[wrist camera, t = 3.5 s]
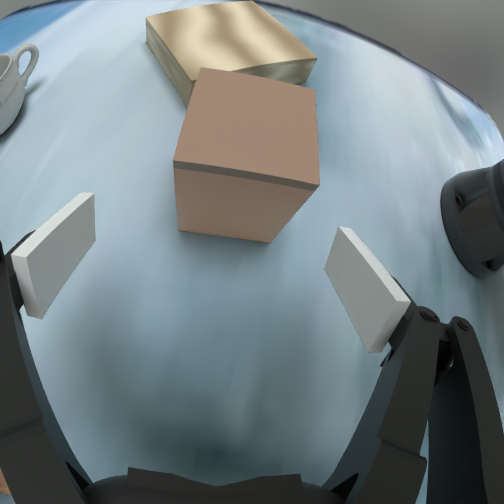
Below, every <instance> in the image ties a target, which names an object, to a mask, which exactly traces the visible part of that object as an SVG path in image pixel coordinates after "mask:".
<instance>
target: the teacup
mask: <svg viewBox="0 0 504 504" xmlns="http://www.w3.org/2000/svg"><path fill="white" fill-rule="evenodd" d="M26 51H30V52H31V60H30V63H29V65H28V66H27V68H26V70H25V71H24V73H23V74H22V75H21V76H20V74H19V71H18V68H19V58H20V56H21V55H22V54H23V53H24V52H26ZM38 57H39V51H38V49H37V47H36V46H35V45H33V44H24V45H22V46H20V47H19V48H18V49H17V50H16V51H15V53H14V55H13V56H12V55H11V54H9V53H3V54H0V135H1V134H3V133H4V132H5V131H6V130H7V129H8V128H9V127H10V126H11V124H12V123H13V122H14V120H15V119H16V117H17V115H18V113H19V111H20V108H21V106H22V103H23V100H24V96H25V88H24V87H25V86H26V84H27V81H28V78H29V76H30V75H31V73H32V71H33V69H34V68H35V66H36V63H37V61H38Z"/></svg>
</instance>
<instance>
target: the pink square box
mask: <svg viewBox="0 0 504 504" xmlns="http://www.w3.org/2000/svg"><path fill="white" fill-rule="evenodd" d="M173 166H174V181H175V193H176V205H177V215H178V225H179V230H181V231H188V232H196V233H203V234H210V235H217V236H225V237H232V238H239V239H246V240H253V241H260V242H267V243H270V242H271V241H272V240H273V239H274V238H275V236H276V235H277V234H278V233H279V232H280V231H281V229H282V228H283V227H284V226H285V225H286V224H287V223H288V221H289V220H290V219H291V218H292V217H293V216H294V214H295V213H296V212H297V211H298V210H299V209H300V208H301V206H302V205H303V204H304V203H305V202H306V201H307V199H308V198H309V197H310V196H311V195H312V194H313V192H314V191H315V190H316V189H317V188H318V187H319V185H320V177H319V149H318V130H317V114H316V100H315V90H313V89H309V88H306V87H302V86H298V85H294V84H290V83H286V82H282V81H278V80H273V79H269V78H264V77H259V76H254V75H249V74H243V73H237V72H231V71H225V70H218V69H210V68H202V67H201V68H200V71H199V74H198V77H197V80H196V83H195V86H194V89H193V92H192V96H191V99H190V102H189V105H188V108H187V112H186V115H185V119H184V122H183V125H182V129H181V133H180V136H179V140H178V143H177V147H176V151H175V155H174V159H173Z"/></svg>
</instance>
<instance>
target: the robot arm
mask: <svg viewBox="0 0 504 504" xmlns="http://www.w3.org/2000/svg"><path fill="white" fill-rule="evenodd" d="M441 206H442V215H443V220H444V224H445V228H446V231H447V234H448V237H449V240H450V242H451V244H452V247H453V249H454V251H455V253H456V254H457V256H458V258H459V259H460V261H461V262H462V263H463V265H464V266H465V267H466V268H467V269H468V270H469V271H470V272H471V273H472V274H474V275H476V276H478V277H486V276H490V275H493V274H496V273H498V272H499V271H501V270H502V269H503V268H504V159H503V160H502V161H500V162H499V163H497V164H496V165H494V166H492V167H488V168H482V169H477V170H471V171H466V172H462V173H459V174H457V175H456V176H454V177H453V178H451V179H450V180H448V181H447V182H446V184H445V185H444V188H443V191H442V197H441ZM95 241H96V238H95V213H94V193H86V192H81V193H80V194H79V195H78V196H76V197H75V198H74V199H72V200H71V201H70V202H69V203H68V204H66V205H65V206H64V207H63V208H61V209H60V210H59V211H58V212H57V213H55V214H54V215H53V216H52V217H51V218H50V219H48V220H47V221H46V222H45V223H44V224H43V225H42V226H40V227H39V228H38V229H37V230H34V231H32V232H30V233H29V234H27V235H26V236H24V237H23V238H22V239H21V240H20V241H19V242H18V243H17V244H16V246H14V247H13V248H12V249H11V250H10V251H9V252H8V253H7V254H6V255H5V256H4V253H3V248H2V243H1V241H0V468H1V471H2V473H3V476H4V478H5V481H6V483H7V486H8V488H9V490H10V493H11V495H12V497H13V499H14V501H15V503H16V504H415V503H416V500H417V497H418V494H419V491H420V488H421V485H422V481H423V478H424V475H425V471H426V467H427V460H426V458H425V457H422V456H420V455H419V454H420V449H421V445H422V441H423V437H424V433H425V429H426V425H427V420H428V429H429V464H428V485H427V498H426V504H504V433H503V428H502V423H501V418H500V413H499V409H498V405H497V401H496V397H495V393H494V389H493V386H492V382H491V379H490V375H489V372H488V369H487V366H486V362H485V359H484V356H483V353H482V351H481V348H480V345H479V342H478V339H477V337H476V334H475V332H474V329H473V327H472V326H471V324H470V323H469V322H468V321H467V320H466V319H464V318H461V317H458V316H455V317H453V318H452V320H451V321H450V323H449V324H444V323H441V322H440V319H439V317H438V316H437V315H436V314H435V313H434V312H433V311H431V310H430V309H428V308H426V307H422V306H417V305H416V304H415V303H414V301H413V300H412V299H411V297H410V296H409V295H408V294H407V292H405V290H404V288H403V287H401V285H400V283H399V282H398V281H397V280H396V279H395V278H394V277H392V276H391V275H390V274H389V273H388V272H387V271H386V269H385V268H384V267H383V266H382V264H381V263H380V262H379V261H378V260H377V258H376V257H375V256H374V255H373V254H372V253H371V251H370V250H369V249H368V248H367V247H366V246H365V244H364V243H363V242H362V241H361V240H360V239H359V237H358V236H357V235H356V234H355V233H354V232H353V231H352V230H351V228H345V227H340V226H339V227H338V230H337V233H336V236H335V239H334V242H333V245H332V248H331V250H330V253H329V256H328V259H327V262H326V265H325V268H324V270H325V272H326V274H327V275H328V277H329V279H330V281H331V283H332V285H333V287H334V288H335V290H336V292H337V294H338V296H339V298H340V300H341V302H342V304H343V305H344V307H345V309H346V311H347V313H348V315H349V317H350V319H351V321H352V323H353V325H354V327H355V329H356V331H357V333H358V335H359V337H360V339H361V341H362V343H363V345H364V347H365V349H366V351H367V353H371V352H382V351H383V349H384V347H385V346H386V344H387V343H388V342H389V344H390V345H391V347H392V348H391V350H390V351H389V353H388V354H387V356H386V357H385V359H384V360H383V362H382V363H381V365H380V366H381V367H382V366H383V368H382V371H381V373H380V376H379V378H378V381H377V383H376V386H375V388H374V391H373V393H372V396H371V398H370V400H369V403H368V405H367V407H366V409H365V412H364V414H363V416H362V418H361V420H360V422H359V425H358V427H357V429H356V431H355V433H354V435H353V437H352V439H351V441H350V443H349V445H348V447H347V449H346V451H345V452H344V454H343V456H342V458H341V460H340V462H339V463H338V465H337V467H336V469H335V470H334V472H333V474H332V475H331V476H330V478H329V479H328V480H327V481H326V482H325V483H324V484H323V486H322V487H320V486H317V485H314V484H310V483H305V482H302V481H301V476H300V474H292V475H280V476H265V477H257V478H254V479H250V480H246V481H242V482H238V483H233V484H229V485H224V486H211V485H207V484H203V483H200V482H196V481H193V480H189V479H186V478H183V477H180V476H177V475H174V474H170V473H162V472H155V471H148V470H142V469H136V468H131V467H128V475H121V476H115V477H110V478H106V479H102V480H100V481H97V482H95V483H93V482H92V481H91V479H90V478H89V477H88V475H87V474H86V472H85V471H84V469H83V468H82V467H81V465H80V464H79V462H78V461H77V459H76V457H75V455H74V454H73V452H72V450H71V448H70V446H69V444H68V442H67V440H66V438H65V436H64V434H63V432H62V430H61V428H60V426H59V424H58V422H57V420H56V418H55V415H54V413H53V411H52V408H51V406H50V404H49V401H48V399H47V396H46V394H45V391H44V389H43V386H42V383H41V381H40V378H39V375H38V372H37V369H36V366H35V363H34V360H33V357H32V354H31V351H30V347H29V344H28V340H27V337H26V333H25V329H24V325H23V321H22V317H21V314H20V311H19V310H20V308H21V307H22V305H23V304H24V306H25V310H26V313H27V315H28V316H31V317H35V318H39V319H43V317H44V315H45V314H46V312H47V310H48V309H49V307H50V305H51V304H52V302H53V301H54V299H55V298H56V296H57V295H58V293H59V291H60V290H61V288H62V287H63V285H64V284H65V282H66V281H67V280H68V278H69V277H70V275H71V274H72V272H73V271H74V269H75V268H76V267H77V265H78V264H79V262H80V261H81V260H82V258H83V257H84V255H85V254H86V253H87V251H88V250H89V249H90V247H91V246H92V245H93V243H94V242H95ZM452 363H453V364H452ZM451 364H452V366H451ZM450 366H451V367H450Z"/></svg>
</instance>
